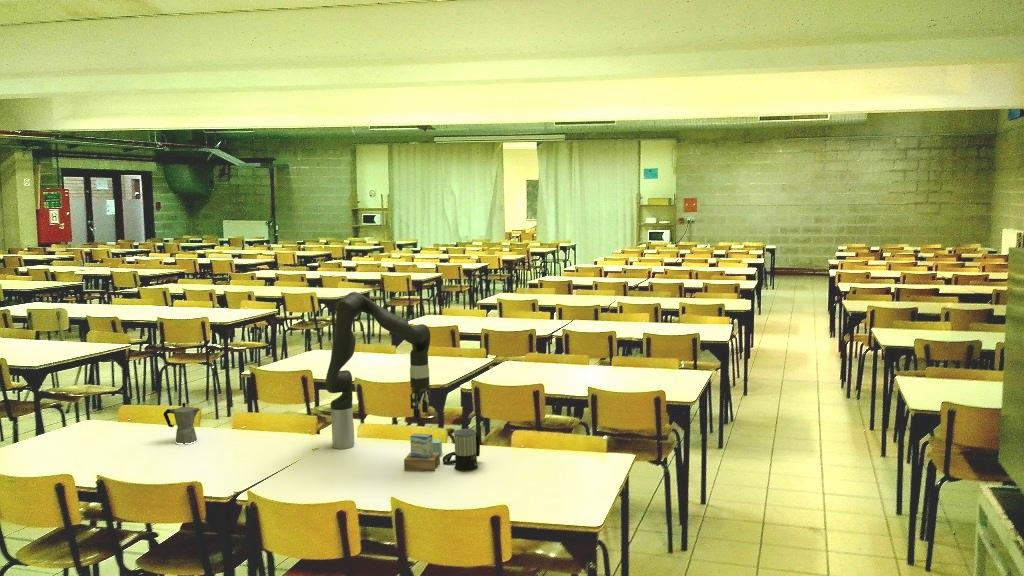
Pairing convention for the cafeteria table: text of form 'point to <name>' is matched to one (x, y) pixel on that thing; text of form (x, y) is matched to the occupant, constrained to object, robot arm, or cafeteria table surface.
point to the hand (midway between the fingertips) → (421, 415)
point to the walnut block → (421, 463)
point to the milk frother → (465, 450)
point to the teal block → (437, 446)
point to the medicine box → (421, 445)
